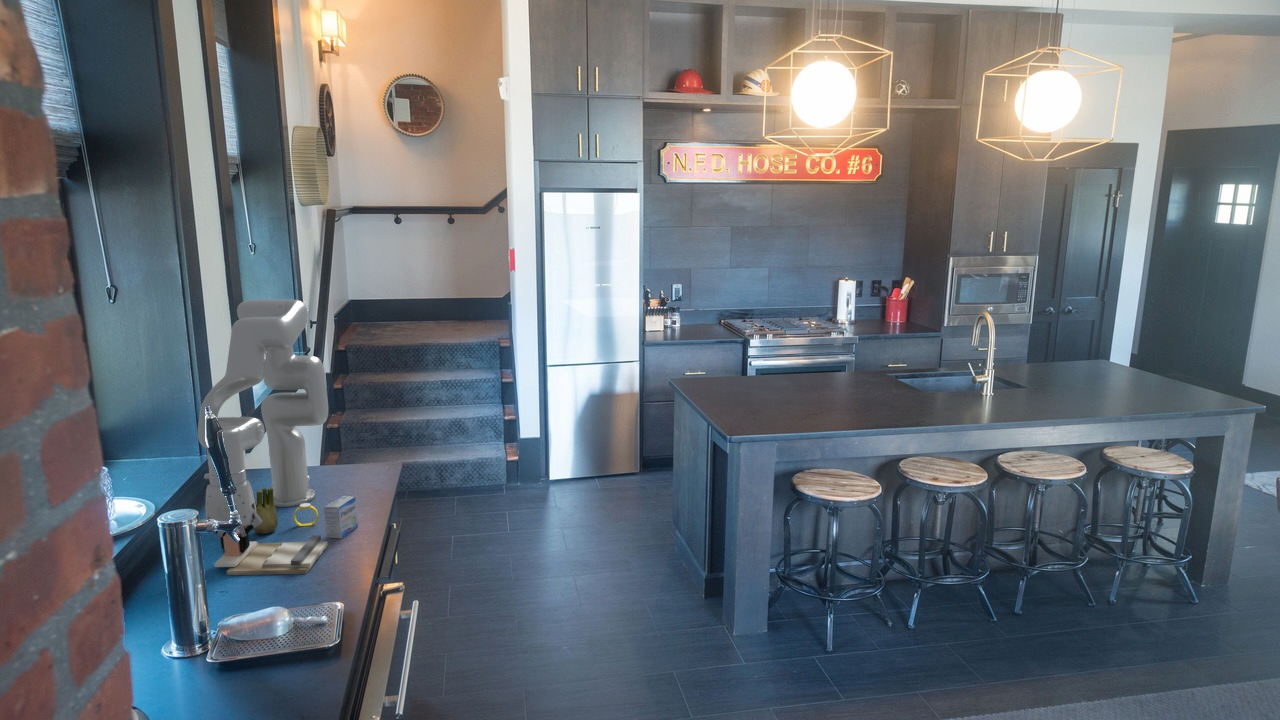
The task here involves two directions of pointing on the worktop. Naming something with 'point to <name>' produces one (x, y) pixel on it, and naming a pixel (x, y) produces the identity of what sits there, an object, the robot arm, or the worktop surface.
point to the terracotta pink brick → (233, 552)
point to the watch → (305, 506)
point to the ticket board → (281, 558)
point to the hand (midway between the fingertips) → (236, 549)
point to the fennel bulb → (266, 512)
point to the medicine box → (340, 517)
